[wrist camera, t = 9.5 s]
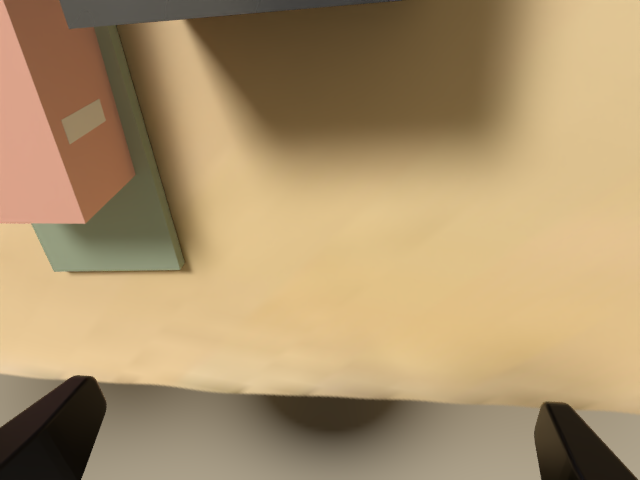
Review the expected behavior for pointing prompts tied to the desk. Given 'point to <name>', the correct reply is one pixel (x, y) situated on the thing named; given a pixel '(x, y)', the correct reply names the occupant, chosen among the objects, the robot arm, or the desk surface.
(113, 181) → the pink block
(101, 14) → the dispenser
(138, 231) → the green block
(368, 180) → the desk surface
